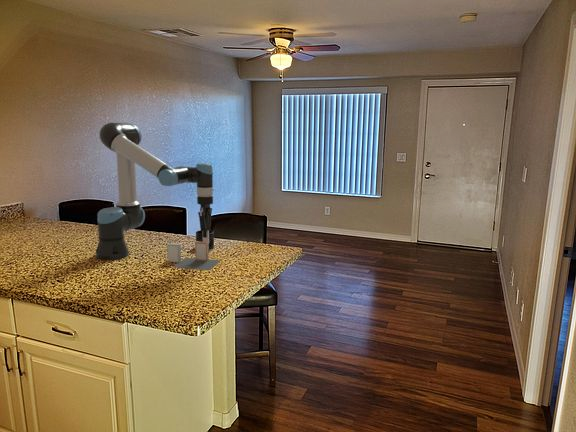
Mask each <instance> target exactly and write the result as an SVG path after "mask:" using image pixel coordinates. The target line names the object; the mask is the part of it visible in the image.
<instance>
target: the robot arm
mask: <svg viewBox="0 0 576 432" xmlns="http://www.w3.org/2000/svg"><path fill="white" fill-rule="evenodd" d="M142 137H143V136H142V133H141V130H140V129H139V127H138V126H137V125H135V124H133V123H129V122H108V123H105V124H104V125H102V127H101V128H100V130H99V139H100V142H101V143H102V144H103V146H104V147H106V148H107V149H108V150H110V151H112V152H113V153H115V154H116V165H117V166H116V167H117V168H116V169H117V187H118V201H117V202H116V203H115V205H116V206H110V207H106V208H102V209H100V210H99V211H98V212H97V219H96V221H97V230H98V231H97V233H98V243H97V247H96V251H95V258H97V259H100V260H107V261H108V260H119V259H123V258H126V257H128V256H129V252H130V251H129V248H128V246H127V243H126V241H125V232H128V231H130V230H135V229H137V228H138V227H141V226H142V225H143V224H144V222H145V220H146V219H145V218H146V213H145V210H144V209H143V207H142V206H141V203H140V202H139V201H138V199H137V197H138V196H137V180H136V179H137V178H136V175H137V174H136V165H138V167H141V168H142V169H144V170H145V171H147V172H148V173H149V174H151V175H152V176H154V177H156V178H157V180H158V181H159V183H160V185H162V186H163V187H172V186H176V185H182V184H186V183H187V184H188V183H189V184H190V183H192V184H196V195H197V197H196V204H197V205H200V209H199V211H198V212H197V214H198V218H199V226H200V230H201V231H203V242H209V230H211V229H212V228H211V227H212V213H213V212H212V211H213V208H212V207H211V205H213V203H214V196H213V193H214V187H213V186H214V185H213V182H214V181H213V177H214V176H213V174H214V172H213V165H212V164H211V163H206V162H205V163H204V162H203V163H201V162H200V163H196V164H195V165H196V166H193V167H191V166H175V167H172V166H171V165H169V164H167V163H165V162H164V161H162V160H161V159H159V158H158V157H156V156H155V155H153V154H151V153H150V152H149V151H147V150H145V149H143V147H141V146H140V143H141V141H142ZM211 231H212V230H211Z"/></svg>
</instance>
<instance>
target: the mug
mask: <svg viewBox="0 0 576 432" xmlns="http://www.w3.org/2000/svg"><path fill="white" fill-rule="evenodd" d="M196 241H202V242H203V231H201V229H200V230H197V231H195V242H196ZM214 249H215V231H213V230H209V250H214Z"/></svg>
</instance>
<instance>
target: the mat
mask: <svg viewBox="0 0 576 432" xmlns="http://www.w3.org/2000/svg"><path fill="white" fill-rule="evenodd" d="M221 261H222V260H221V259H210V258H209V260H208V261H198V260H195V257H184V258H183V259H181V262H177V263H176V264H175V265H174V266H172V268H173V269H174V268H175V269H185V270H197V271H198V270H200V271H211V270H212V269H214V268H215V267H216V266H217V265H218V264H219V263H220V262H221Z"/></svg>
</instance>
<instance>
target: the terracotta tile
mask: <svg viewBox="0 0 576 432" xmlns="http://www.w3.org/2000/svg"><path fill="white" fill-rule="evenodd" d="M194 244H195V246H194V248H195V249H194V252H195V253H194V255H195V256H194V258H195V260H198V261H208V260H209V259H210V258H209V256H210V254H209V251H210V249H209V242H202V241H196V240H195V241H194Z"/></svg>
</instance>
